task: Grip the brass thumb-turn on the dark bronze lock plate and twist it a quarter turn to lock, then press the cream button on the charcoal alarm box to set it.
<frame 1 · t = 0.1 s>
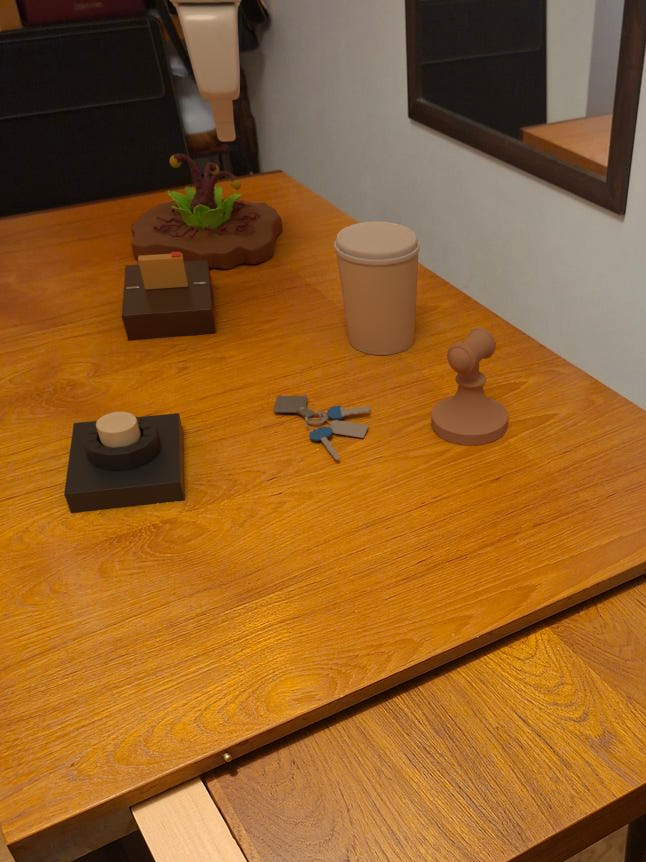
hand: (224, 125, 94), 21 cm above the table, tool pointing down, fingers open, 8 cm apart
coffee cup: (381, 341, 107), on the table
lock plate: (172, 310, 110), on the table
alarm box: (130, 470, 86), on the table
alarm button: (118, 429, 83), point 4 cm above the table, slide at 0.1 cm
door knob: (469, 425, 94), on the table
plant: (208, 242, 125), on the table
lock knob: (163, 270, 107), point 5 cm above the table, hinge at 0.0°
key chain: (332, 422, 93), on the table
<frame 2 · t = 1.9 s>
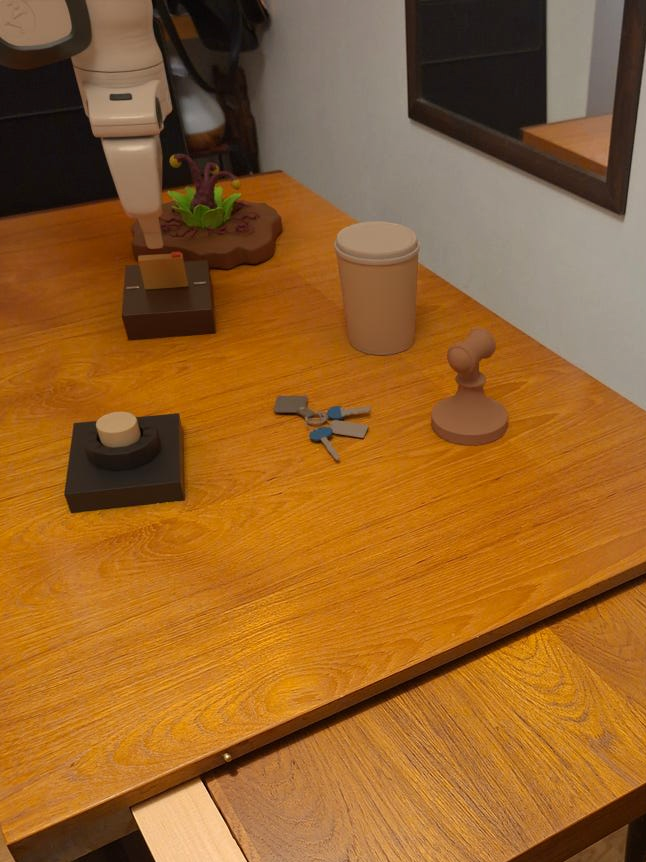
hand: (156, 229, 103), 10 cm above the table, tool pointing down, fingers open, 8 cm apart
nothing on the table moved.
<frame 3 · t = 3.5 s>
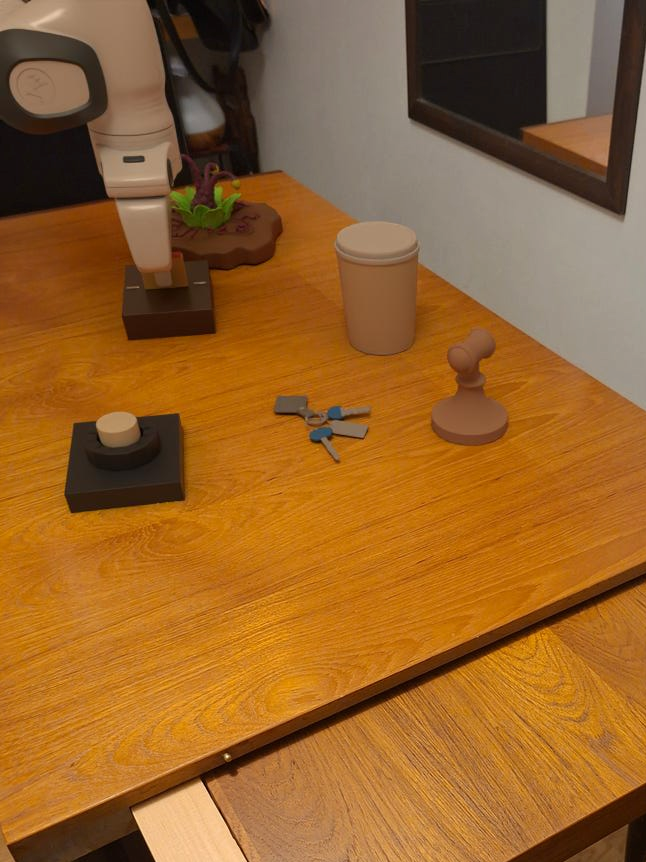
hand: (165, 278, 107), 4 cm above the table, tool pointing down, fingers closed on lock knob
lock knob: (163, 270, 107), point 5 cm above the table, hinge at 0.0°, touching gripper
everything else where it was.
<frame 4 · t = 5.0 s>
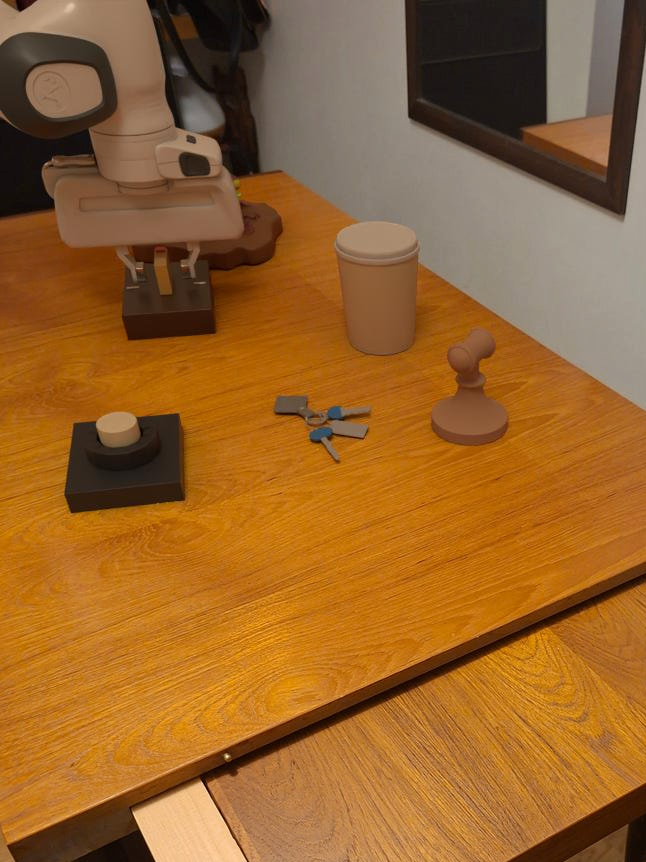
hand: (165, 278, 107), 4 cm above the table, tool pointing down, fingers open, 4 cm apart
lock knob: (163, 270, 107), point 5 cm above the table, hinge at 89.6°
everything else where it was.
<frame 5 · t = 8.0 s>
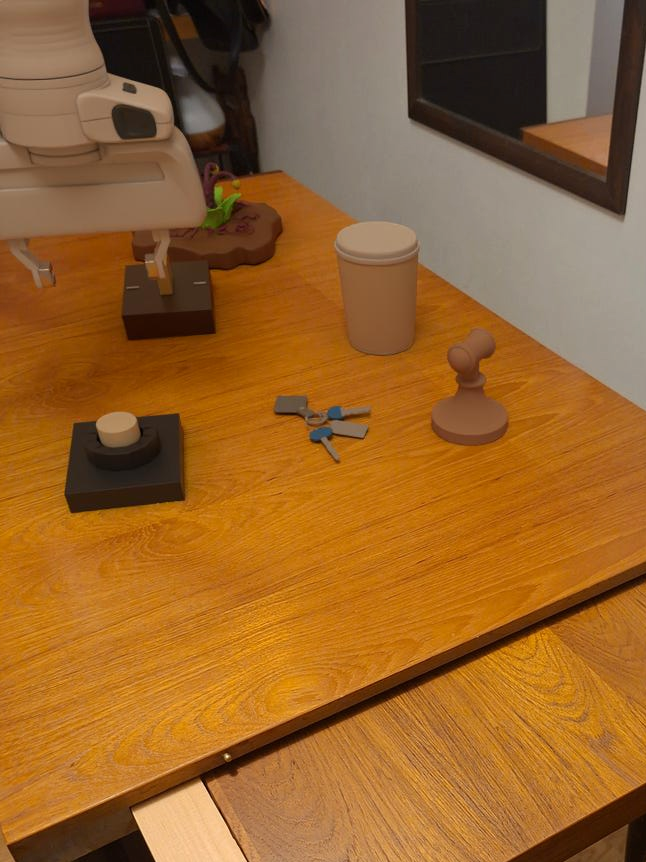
hand: (103, 281, 80), 15 cm above the table, tool pointing down, fingers open, 8 cm apart
nothing on the table moved.
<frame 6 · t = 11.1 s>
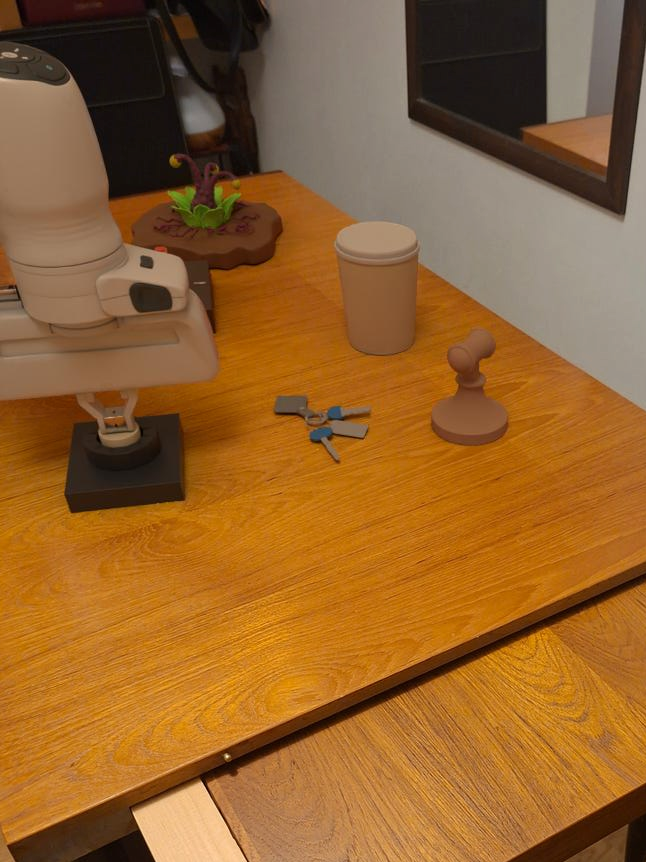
hand: (118, 429, 83), 5 cm above the table, tool pointing down, fingers closed, pressing on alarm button
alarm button: (120, 437, 84), point 4 cm above the table, slide at -0.7 cm, touching gripper
everything else where it was.
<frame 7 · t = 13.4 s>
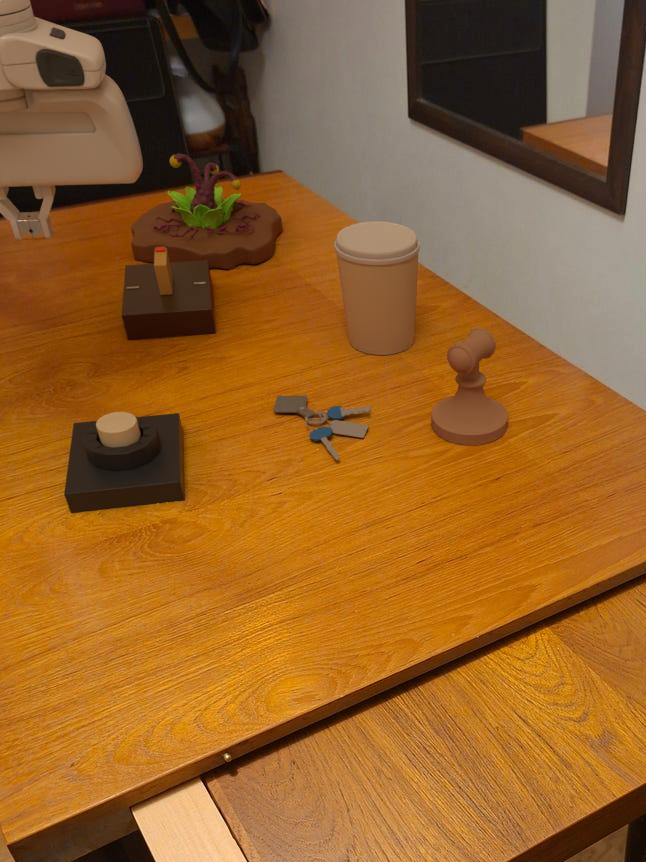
hand: (35, 237, 78), 19 cm above the table, tool pointing down, fingers closed
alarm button: (118, 429, 83), point 4 cm above the table, slide at 0.1 cm
everything else where it was.
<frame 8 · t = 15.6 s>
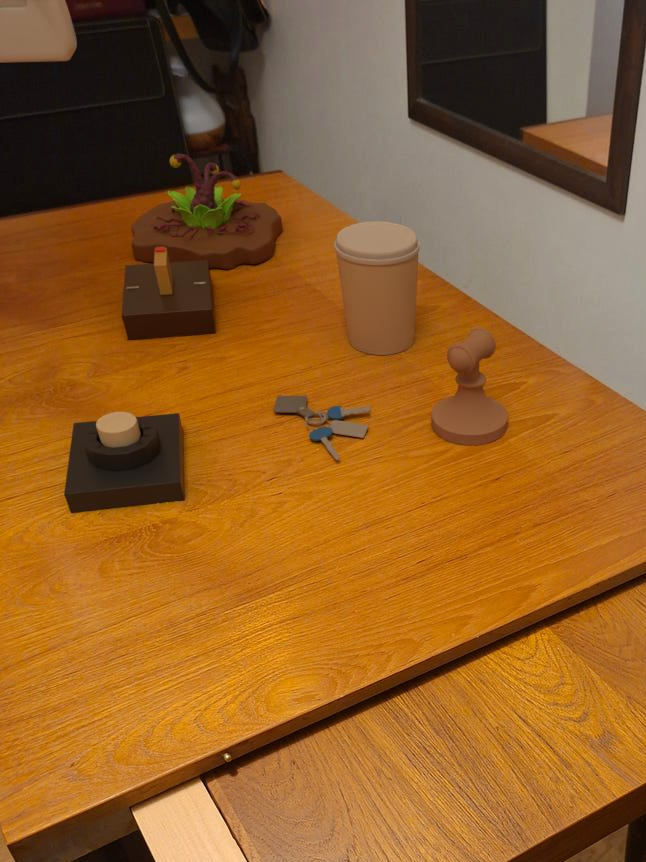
nothing on the table moved.
at the end: lock knob at +90° (first picture: +0°); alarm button pushed in 1.1 cm at the most during the clip, back to where it started at the end; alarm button slide at 0.1 cm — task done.
